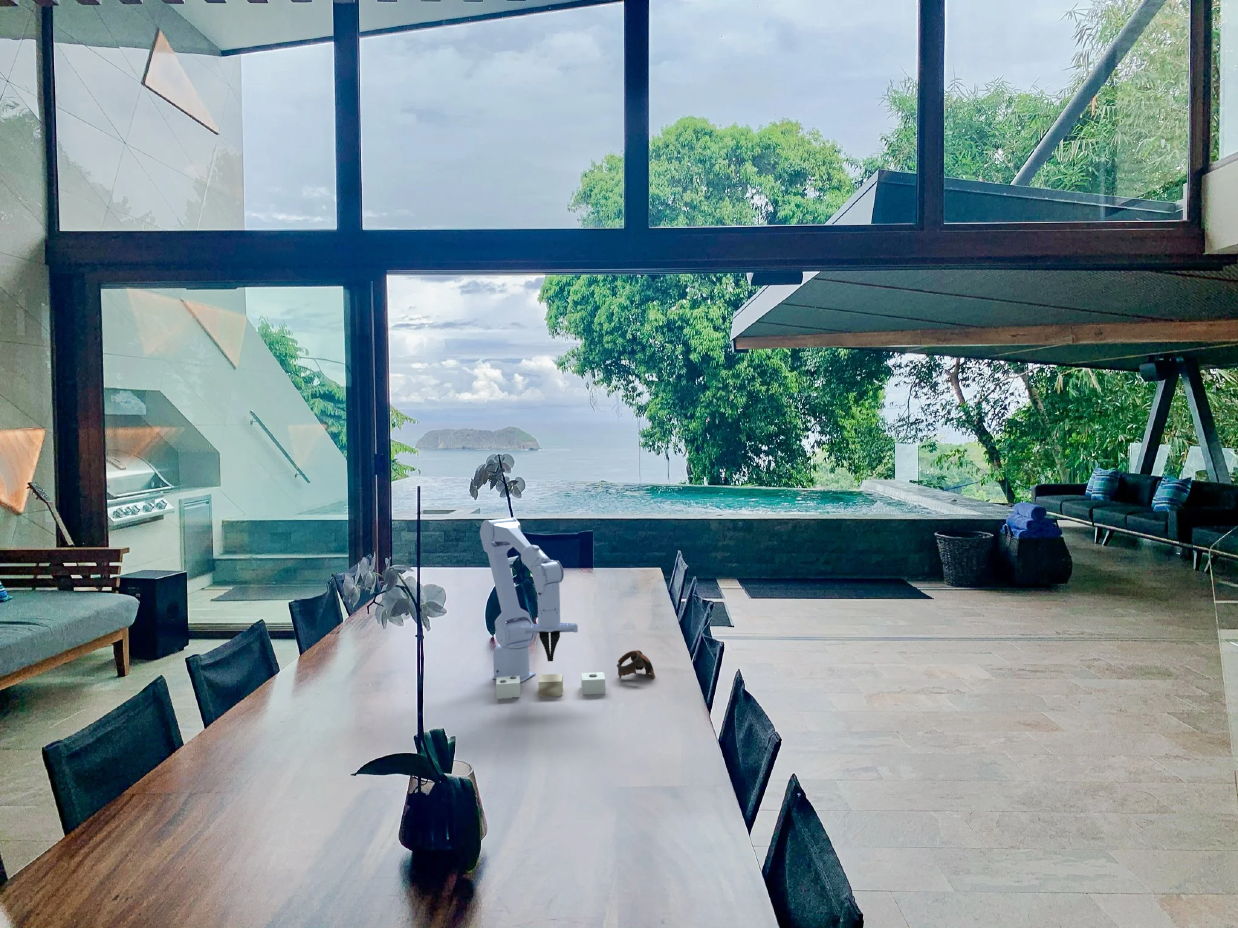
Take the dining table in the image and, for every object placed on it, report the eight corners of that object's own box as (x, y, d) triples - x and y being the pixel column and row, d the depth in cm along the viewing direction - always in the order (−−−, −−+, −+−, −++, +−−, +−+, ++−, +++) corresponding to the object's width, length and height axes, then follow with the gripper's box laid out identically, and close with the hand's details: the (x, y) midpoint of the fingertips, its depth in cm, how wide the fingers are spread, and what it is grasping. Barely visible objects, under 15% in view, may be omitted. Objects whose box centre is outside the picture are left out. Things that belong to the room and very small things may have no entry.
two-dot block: (496, 699, 217) (496, 683, 217) (497, 691, 223) (496, 676, 223) (520, 698, 218) (519, 681, 218) (520, 690, 224) (519, 674, 224)
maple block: (538, 697, 219) (538, 681, 218) (540, 689, 225) (539, 674, 224) (562, 696, 219) (561, 681, 218) (563, 688, 225) (562, 673, 224)
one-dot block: (582, 695, 219) (581, 679, 219) (581, 687, 225) (581, 672, 225) (605, 694, 220) (605, 678, 219) (604, 686, 226) (603, 671, 225)
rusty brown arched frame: (657, 684, 228) (642, 660, 226) (626, 698, 230) (611, 674, 228) (657, 660, 239) (643, 637, 237) (628, 673, 241) (614, 650, 239)
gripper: (520, 613, 216) (521, 665, 217) (577, 610, 217) (578, 663, 218) (521, 606, 223) (522, 657, 224) (576, 604, 224) (577, 655, 225)
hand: (550, 660), depth 221 cm, fingers closed
